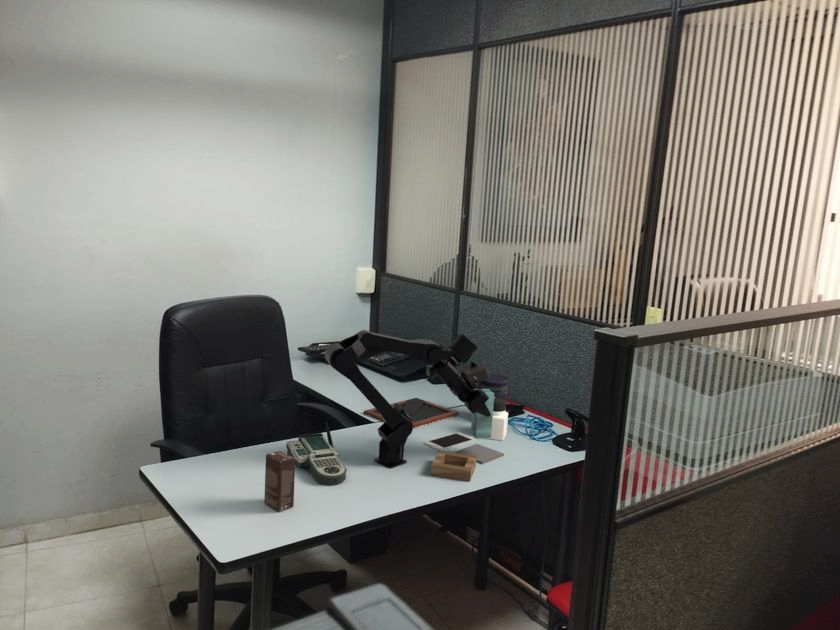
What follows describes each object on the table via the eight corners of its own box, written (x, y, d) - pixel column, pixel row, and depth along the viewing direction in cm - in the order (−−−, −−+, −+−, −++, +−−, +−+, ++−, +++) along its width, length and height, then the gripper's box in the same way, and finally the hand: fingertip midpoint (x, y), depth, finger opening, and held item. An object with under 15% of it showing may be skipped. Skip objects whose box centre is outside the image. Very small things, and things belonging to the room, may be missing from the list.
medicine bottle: (506, 433, 214) (509, 397, 212) (503, 441, 207) (506, 403, 205) (484, 430, 215) (487, 394, 213) (480, 437, 209) (483, 400, 207)
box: (294, 507, 156) (296, 457, 154) (278, 512, 153) (279, 462, 151) (279, 498, 160) (280, 449, 158) (263, 503, 157) (264, 454, 155)
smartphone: (423, 444, 201) (423, 441, 201) (459, 434, 211) (459, 431, 211) (440, 452, 196) (440, 449, 196) (476, 441, 206) (476, 438, 206)
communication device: (309, 491, 166) (310, 457, 164) (283, 455, 187) (284, 424, 185) (355, 484, 171) (356, 451, 170) (325, 449, 192) (326, 420, 191)
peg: (490, 438, 191) (494, 393, 188) (475, 438, 189) (478, 393, 187) (485, 432, 195) (488, 388, 193) (470, 433, 194) (473, 389, 191)
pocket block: (470, 481, 176) (470, 470, 175) (430, 475, 178) (431, 464, 178) (475, 466, 186) (476, 456, 185) (438, 461, 188) (439, 450, 188)
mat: (482, 464, 188) (482, 462, 188) (454, 453, 195) (455, 451, 194) (503, 455, 195) (504, 453, 195) (476, 445, 202) (476, 443, 202)
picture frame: (415, 402, 243) (363, 415, 225) (416, 396, 242) (363, 409, 224) (458, 416, 229) (406, 432, 211) (458, 411, 229) (406, 426, 211)
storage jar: (510, 421, 225) (514, 378, 223) (495, 428, 218) (499, 383, 215) (484, 414, 231) (488, 372, 229) (469, 421, 223) (472, 377, 221)
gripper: (484, 363, 178) (520, 403, 183) (462, 347, 196) (496, 383, 201) (453, 393, 178) (490, 432, 182) (434, 374, 195) (468, 410, 200)
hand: (487, 413), depth 191 cm, fingers closed on peg, 4 cm apart
